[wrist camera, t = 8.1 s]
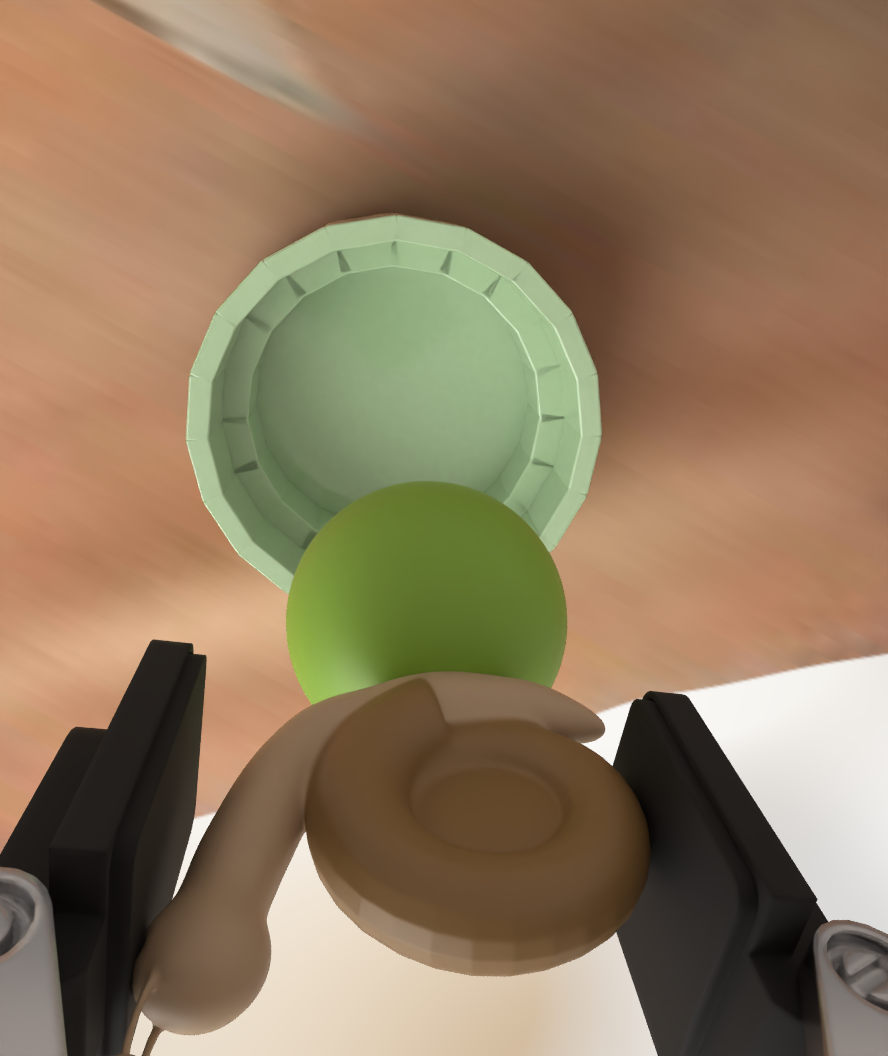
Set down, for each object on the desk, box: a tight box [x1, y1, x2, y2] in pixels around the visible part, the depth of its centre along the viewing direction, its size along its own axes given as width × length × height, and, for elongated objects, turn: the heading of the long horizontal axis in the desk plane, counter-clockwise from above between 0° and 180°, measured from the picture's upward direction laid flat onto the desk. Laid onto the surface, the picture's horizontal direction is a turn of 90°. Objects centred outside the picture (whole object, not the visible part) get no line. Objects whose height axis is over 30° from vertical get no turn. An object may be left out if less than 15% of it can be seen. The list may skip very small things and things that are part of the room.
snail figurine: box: [115, 481, 651, 1056], centre depth 13 cm, size 5×6×12 cm
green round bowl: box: [186, 213, 602, 594], centre depth 31 cm, size 15×15×6 cm
